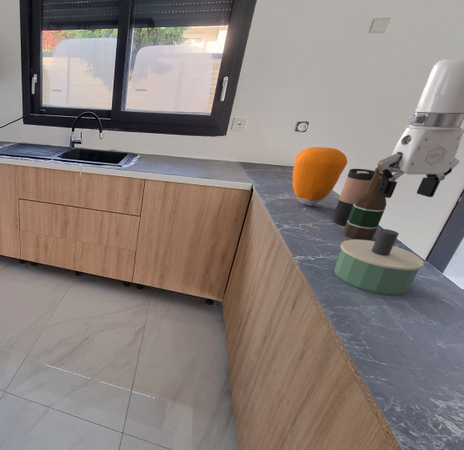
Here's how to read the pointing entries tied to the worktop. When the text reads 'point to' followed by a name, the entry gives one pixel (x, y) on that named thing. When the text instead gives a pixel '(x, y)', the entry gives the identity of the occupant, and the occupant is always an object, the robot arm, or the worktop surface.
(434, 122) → the robot arm
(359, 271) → the green round bowl
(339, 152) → the orange egg-shaped ornament
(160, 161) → the worktop surface
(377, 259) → the lid
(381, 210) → the beer bottle
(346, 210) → the travel mug
